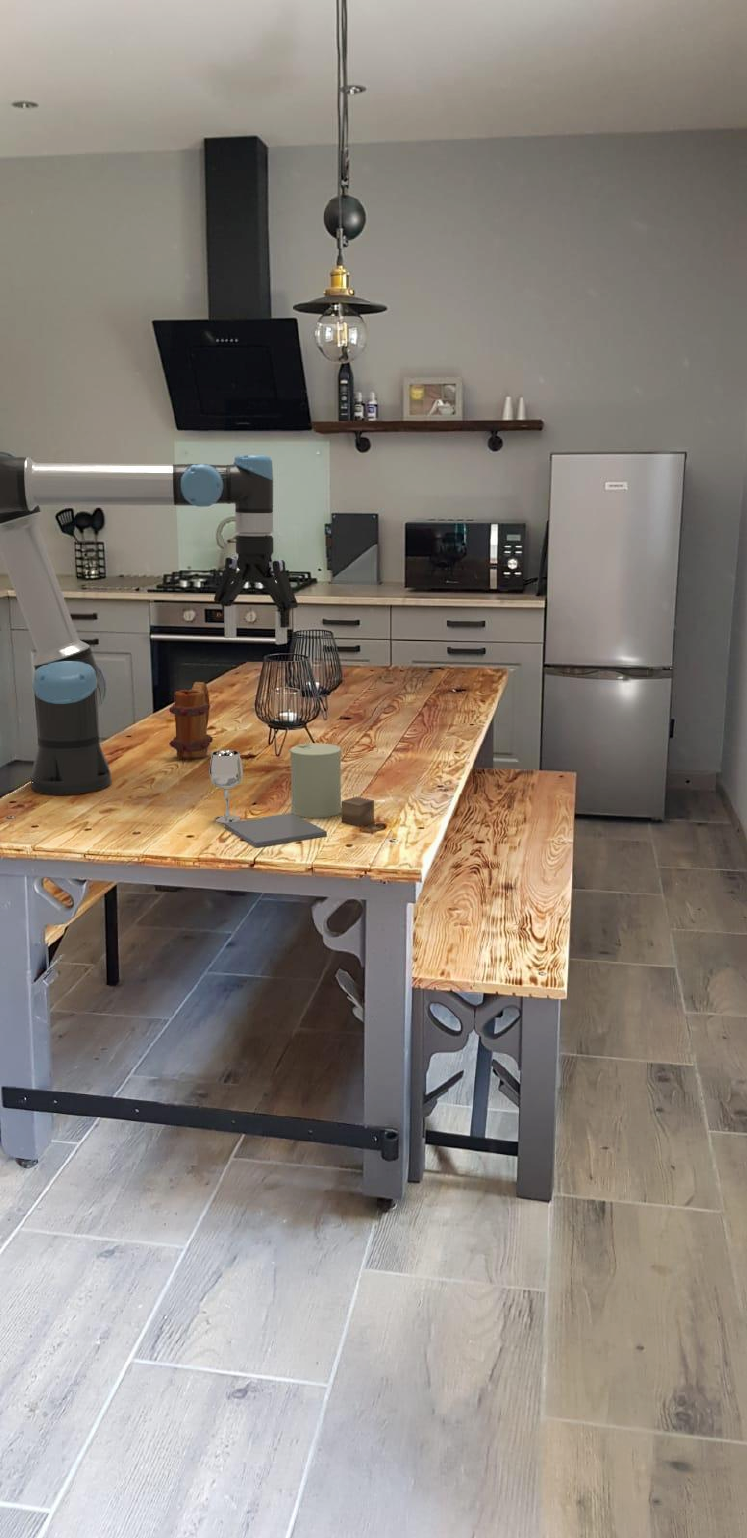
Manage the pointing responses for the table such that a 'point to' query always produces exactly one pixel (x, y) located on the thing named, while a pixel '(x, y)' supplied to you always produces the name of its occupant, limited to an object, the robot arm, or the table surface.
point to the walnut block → (357, 811)
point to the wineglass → (226, 777)
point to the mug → (191, 722)
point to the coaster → (275, 830)
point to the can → (316, 780)
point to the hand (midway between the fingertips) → (255, 640)
